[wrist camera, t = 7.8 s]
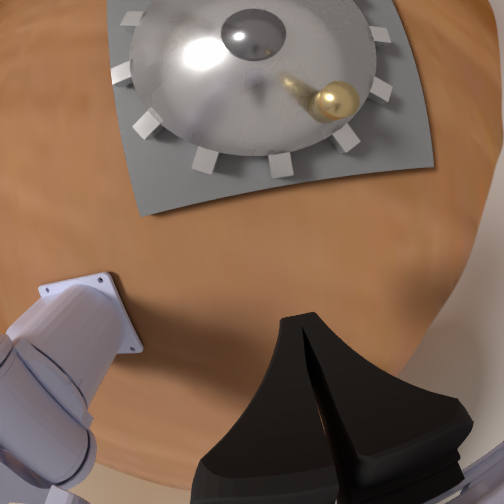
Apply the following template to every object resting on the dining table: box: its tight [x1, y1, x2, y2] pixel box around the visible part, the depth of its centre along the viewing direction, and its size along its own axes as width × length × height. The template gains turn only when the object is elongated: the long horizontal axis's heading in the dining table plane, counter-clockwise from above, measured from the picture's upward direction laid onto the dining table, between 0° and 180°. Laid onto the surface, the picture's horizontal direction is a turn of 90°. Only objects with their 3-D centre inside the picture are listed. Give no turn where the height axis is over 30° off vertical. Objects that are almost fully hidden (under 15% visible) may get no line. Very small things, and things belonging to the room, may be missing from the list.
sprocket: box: [111, 0, 393, 179], centre depth 11 cm, size 18×18×4 cm
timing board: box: [107, 0, 434, 217], centre depth 13 cm, size 21×21×1 cm
